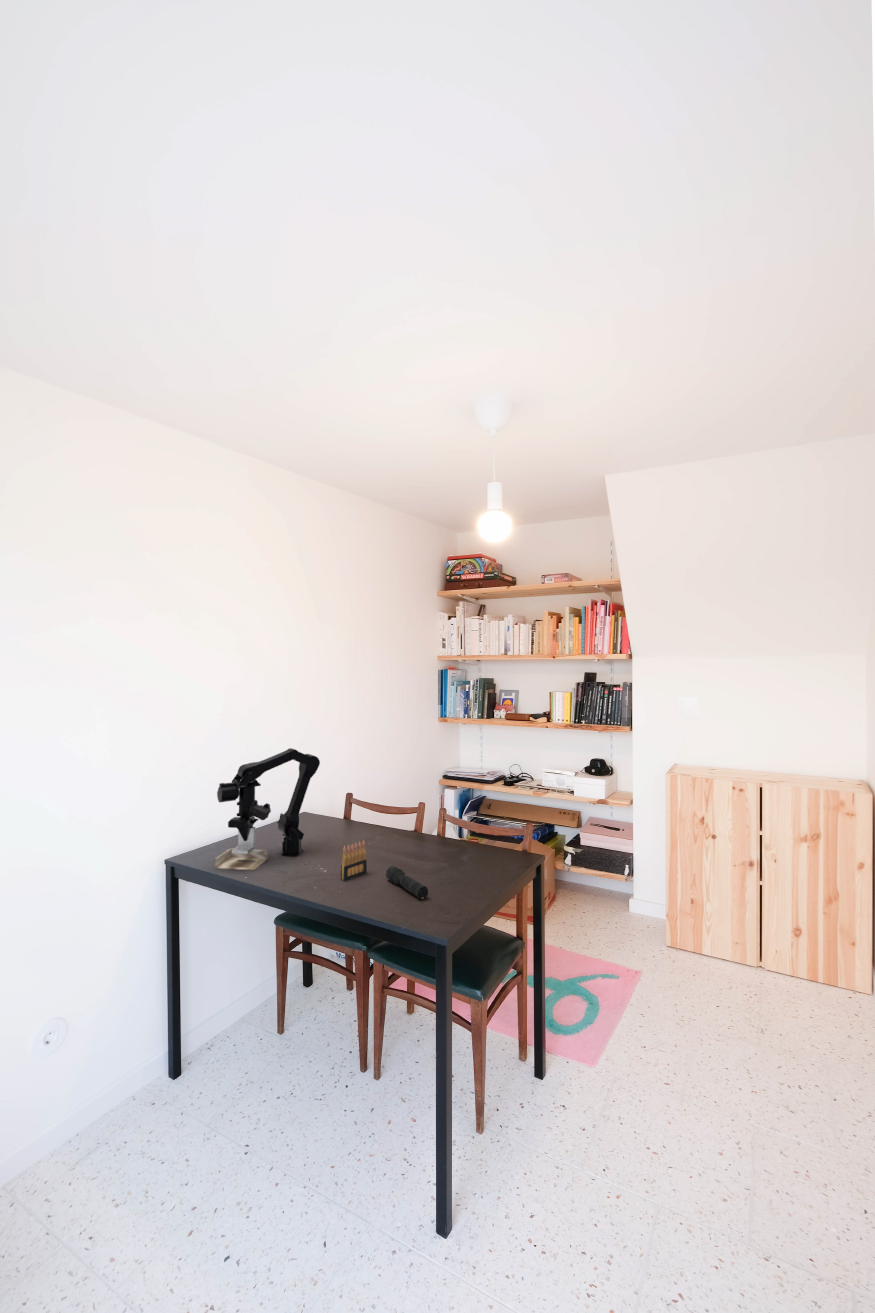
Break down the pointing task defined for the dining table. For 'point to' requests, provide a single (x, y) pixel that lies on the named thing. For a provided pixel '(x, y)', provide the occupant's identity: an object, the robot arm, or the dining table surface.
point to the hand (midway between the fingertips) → (246, 840)
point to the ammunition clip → (353, 861)
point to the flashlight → (406, 882)
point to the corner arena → (241, 860)
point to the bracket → (245, 843)
